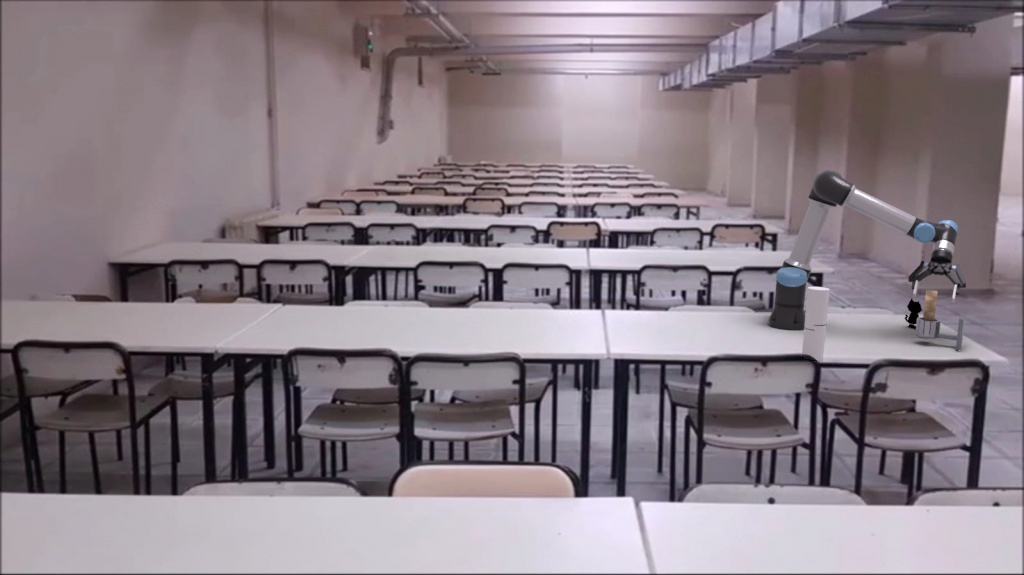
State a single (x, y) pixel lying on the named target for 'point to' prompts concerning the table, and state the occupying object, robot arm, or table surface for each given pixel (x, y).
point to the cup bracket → (933, 330)
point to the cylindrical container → (815, 322)
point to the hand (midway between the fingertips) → (933, 298)
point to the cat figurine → (913, 313)
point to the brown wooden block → (930, 305)
